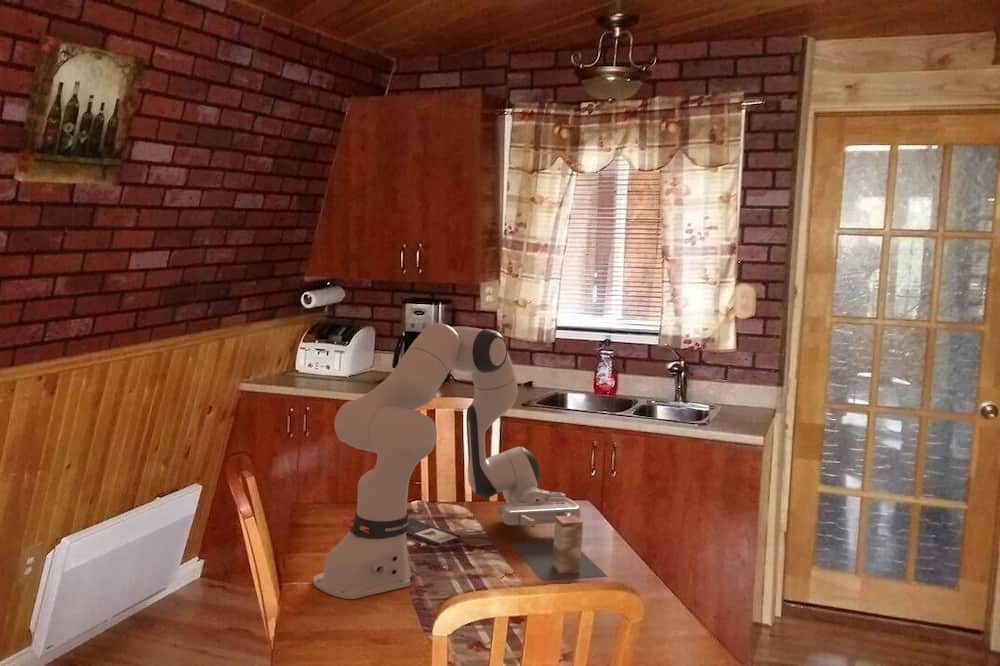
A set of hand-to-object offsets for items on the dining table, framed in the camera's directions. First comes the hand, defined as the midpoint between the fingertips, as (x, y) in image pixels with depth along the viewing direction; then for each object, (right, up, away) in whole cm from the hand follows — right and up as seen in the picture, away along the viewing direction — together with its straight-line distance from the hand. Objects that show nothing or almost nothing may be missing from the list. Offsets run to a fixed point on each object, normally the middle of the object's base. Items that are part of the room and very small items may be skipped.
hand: (550, 523), depth 225 cm
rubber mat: (+1, -8, -5) cm, 10 cm away
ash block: (+3, -8, -11) cm, 14 cm away
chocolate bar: (-32, -5, +11) cm, 35 cm away
